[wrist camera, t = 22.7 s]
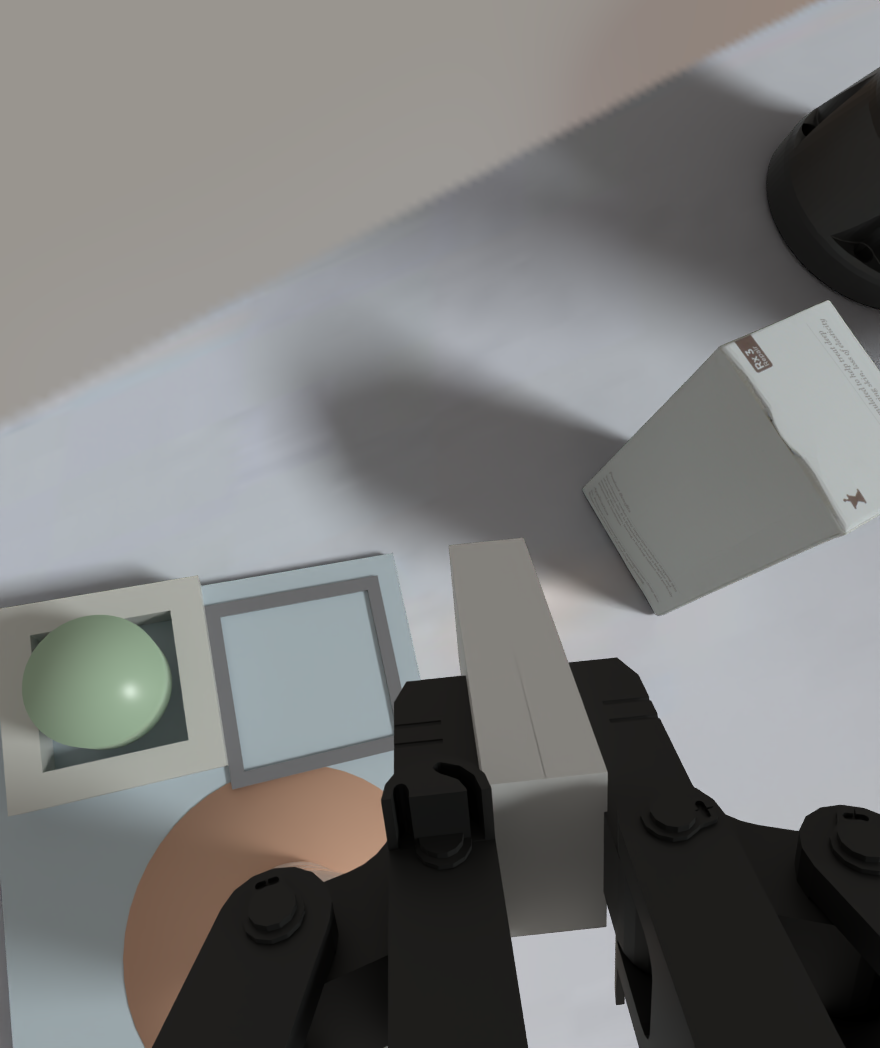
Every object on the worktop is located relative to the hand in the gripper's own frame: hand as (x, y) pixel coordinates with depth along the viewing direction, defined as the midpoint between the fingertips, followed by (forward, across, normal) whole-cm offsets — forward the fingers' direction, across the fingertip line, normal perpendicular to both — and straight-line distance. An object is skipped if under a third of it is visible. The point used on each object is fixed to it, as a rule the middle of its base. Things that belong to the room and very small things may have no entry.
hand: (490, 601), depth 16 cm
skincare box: (+24, +11, -11) cm, 28 cm away
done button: (+12, -15, -10) cm, 21 cm away
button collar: (+14, -15, -11) cm, 23 cm away
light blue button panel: (+11, -10, -17) cm, 23 cm away
